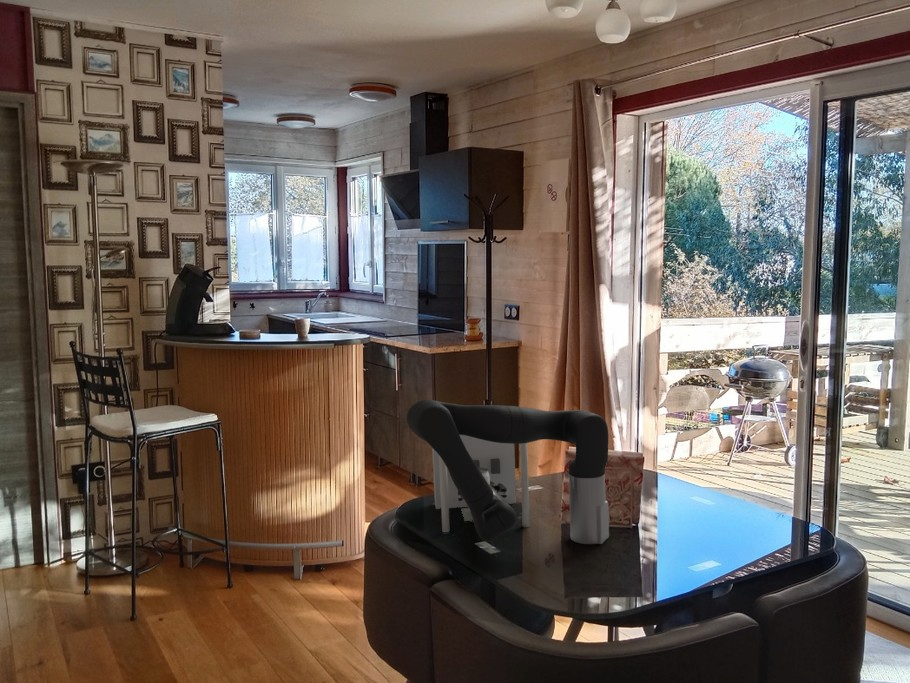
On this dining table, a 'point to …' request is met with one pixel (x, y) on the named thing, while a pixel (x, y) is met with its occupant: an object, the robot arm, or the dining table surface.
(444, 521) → the cord posts
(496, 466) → the breaker panel
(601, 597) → the dining table surface
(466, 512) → the pad
